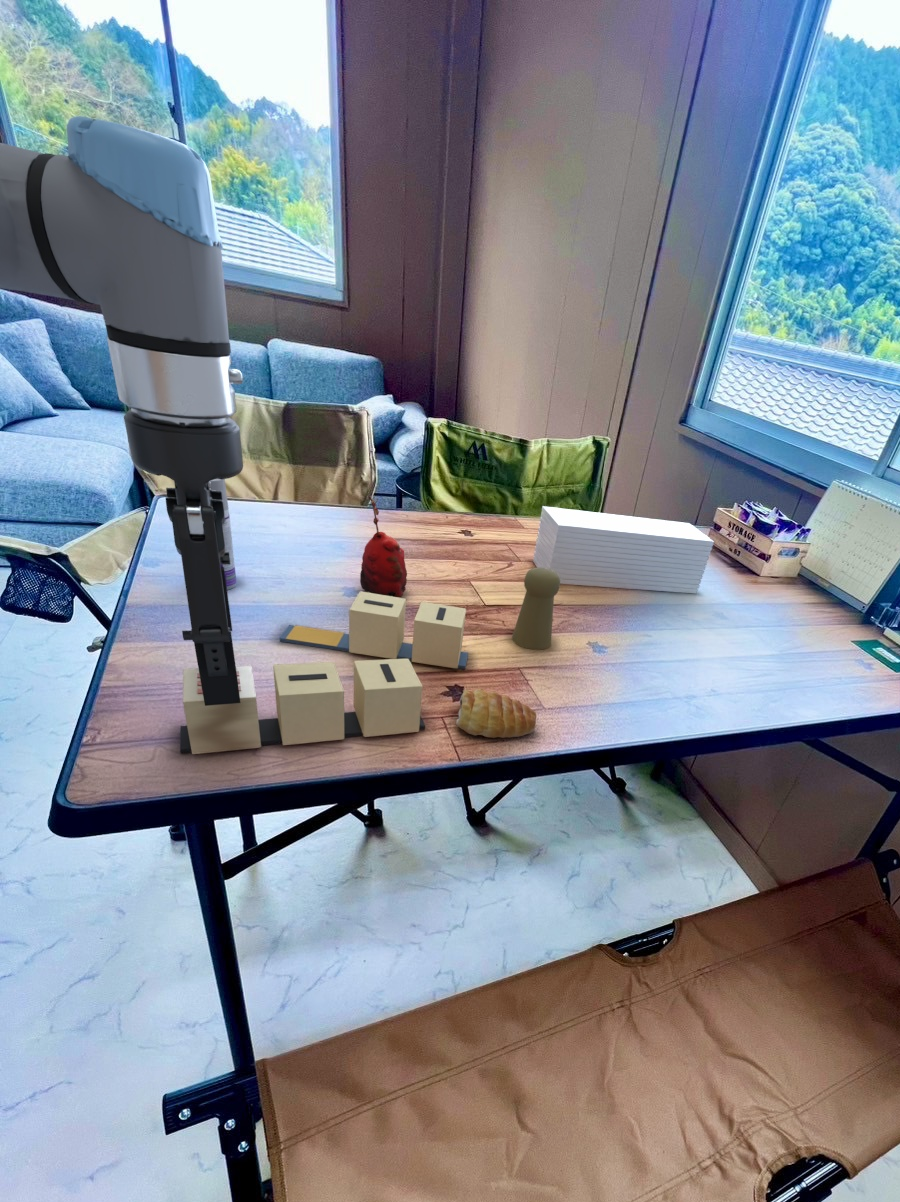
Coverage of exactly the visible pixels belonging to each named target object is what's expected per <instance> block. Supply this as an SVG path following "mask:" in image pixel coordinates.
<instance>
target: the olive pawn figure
mask: <svg viewBox="0 0 900 1202" xmlns="http://www.w3.org/2000/svg"><path fill="white" fill-rule="evenodd" d="M523 585H524V588H525V590H526V591H525V594H524V598H523V600H522V604H521V606H520V607H521V608H520V610H519V612H518V613H519V614H518V615H517V616H518V617H517V619H516V623H515V626H514V629H513V633H512V635H511V640H512V641H513V642H514V643H515V644H516V645H518V646H519V647H522V648H524V649H528V650H537V651H541V650H546V649H548V648H550V647H551V645H552V636H553V635H552V634H553V620H554V619H553V618H554V603H555V602H554V601H555V596H556V595H557V594H558V592H559V591H560V587H561V584H560V578H559V576H558V574H557V573H555V572H554V571H552V570H550V569H546V568H540V567H539V568H537V567H533V568H530V569H529V570H528V571H527V572H526V574H525V576H524V581H523Z"/></svg>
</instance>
